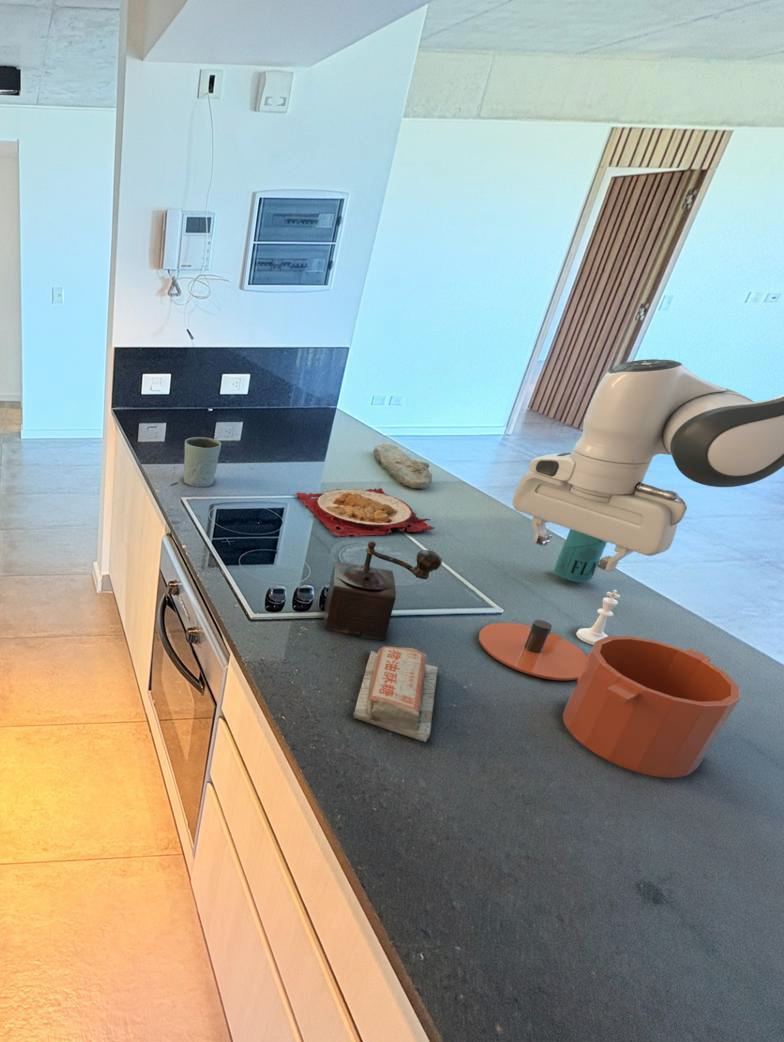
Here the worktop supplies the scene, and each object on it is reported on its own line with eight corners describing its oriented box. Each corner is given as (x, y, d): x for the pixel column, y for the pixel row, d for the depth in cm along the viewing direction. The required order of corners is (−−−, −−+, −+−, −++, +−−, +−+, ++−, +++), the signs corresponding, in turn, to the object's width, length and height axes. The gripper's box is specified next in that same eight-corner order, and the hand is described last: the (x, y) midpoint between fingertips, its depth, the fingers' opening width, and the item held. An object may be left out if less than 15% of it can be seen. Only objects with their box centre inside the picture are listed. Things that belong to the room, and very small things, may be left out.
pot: (728, 750, 85) (774, 679, 79) (646, 800, 78) (690, 726, 72) (608, 687, 97) (641, 621, 91) (528, 726, 90) (558, 657, 84)
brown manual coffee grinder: (322, 632, 111) (341, 543, 103) (324, 601, 121) (341, 518, 112) (418, 651, 106) (446, 559, 98) (412, 617, 115) (437, 531, 107)
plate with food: (379, 494, 169) (382, 483, 168) (433, 533, 146) (437, 519, 145) (294, 498, 169) (296, 486, 167) (334, 537, 146) (337, 523, 144)
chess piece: (607, 651, 105) (630, 601, 101) (572, 638, 109) (593, 590, 104) (613, 639, 108) (636, 591, 104) (579, 627, 112) (600, 580, 107)
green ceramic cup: (181, 474, 184) (184, 436, 179) (215, 476, 183) (219, 437, 178) (182, 487, 175) (185, 447, 170) (218, 488, 174) (222, 448, 169)
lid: (609, 667, 101) (624, 637, 99) (550, 694, 96) (564, 663, 93) (514, 619, 114) (524, 591, 112) (457, 640, 109) (467, 611, 106)
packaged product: (436, 719, 84) (358, 694, 89) (427, 745, 87) (352, 720, 91) (443, 650, 98) (375, 632, 103) (435, 674, 100) (369, 655, 105)
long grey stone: (396, 456, 201) (364, 456, 202) (399, 440, 199) (366, 441, 200) (440, 490, 169) (401, 491, 171) (444, 472, 167) (404, 472, 169)
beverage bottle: (560, 587, 124) (598, 496, 115) (543, 571, 130) (577, 483, 121) (597, 590, 123) (637, 498, 114) (577, 574, 129) (614, 485, 120)
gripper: (704, 492, 83) (663, 581, 89) (545, 451, 100) (519, 528, 106) (679, 501, 81) (638, 591, 87) (520, 457, 98) (495, 535, 104)
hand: (571, 556), depth 97 cm, fingers open, 8 cm apart
